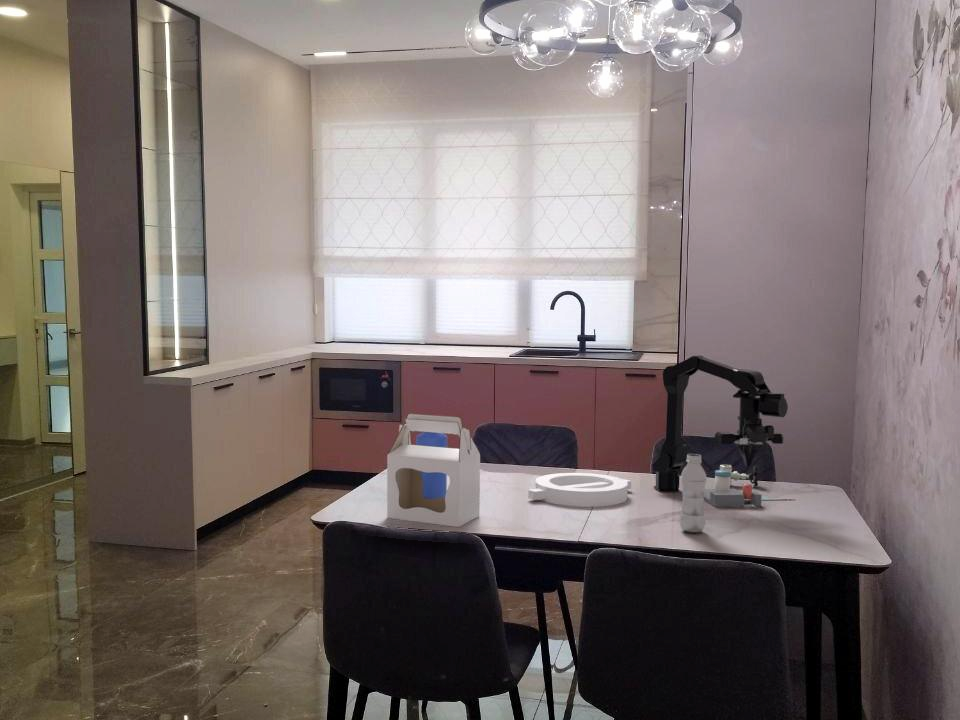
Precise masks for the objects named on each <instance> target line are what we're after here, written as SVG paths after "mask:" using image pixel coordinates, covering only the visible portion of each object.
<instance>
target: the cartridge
mask: <svg viewBox="0 0 960 720" xmlns="http://www.w3.org/2000/svg"><path fill="white" fill-rule="evenodd" d="M731 472H732V471H731ZM731 472H730V471H727V470H720V469H716V470H714V489H715V492H730V489H731V486H730V476H731Z"/></svg>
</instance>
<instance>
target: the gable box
mask: <svg viewBox="0 0 960 720" xmlns="http://www.w3.org/2000/svg"><path fill="white" fill-rule="evenodd" d="M404 420H405V424H399V428H398V434H397V436H396V438H395V439H394V441H393V444H392V446H391V448H390V449H389V451H388V453H387V456H386V457H387V462H386V464H387V465H386V467H387V468H386V470H387V471H386V473H387V474H386V476H387V477H386V478H387V479H386V481H387V483H386V484H387V485H386V489H387V490H386V491H387V493H386V498H387V499H386V509H387V510H386V515H387V516H386V517H387V519H392V520H400V521H409V522H415V523H423V524H432V525H438V526H445V527H446V526H447V527H455V528H459V527H462V526H464V525H465V524H467V523H469V522H471V521H473V520H475V519H477V518H478V517H480V506H481V505H480V503H481V502H480V500H481V499H480V498H481V496H480V494H481V486H480V485H481V454H480V451H479V450H478V447H477V445H476V444H475V442H474V440H473V439H472V437H471V430H470V429H467V428H465V427H464V426H463V421H462V418H461V417H458V416H447V415H433V414H432V415H431V414H422V413H421V414H419V413H409V414H408V415H407V417H406V418H404ZM411 432H421V433H423V432H435V433H443V434H449V435H452V434H453V435H454V436H455V435H458V437H459V446H458V447H459V448H458V447H457V448H456V447H448V446H447V447H437V446H425V445H416V444H412V442H411ZM420 471H422V472H427V473H432V472H440V473H444V474H446V475H447V477H449V485H448V486H447V492H446V495H445V498H444V497H440V498H433V499H428V498H425V497H424V496H423V493H422V491H423V479H422V476H421V473H420Z"/></svg>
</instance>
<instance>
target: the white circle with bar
mask: <svg viewBox="0 0 960 720" xmlns="http://www.w3.org/2000/svg"><path fill="white" fill-rule="evenodd" d="M534 486H535V488H530V489H528V494H527V497H528V499H529V500H533V501H537V500H538V501H539V500H540V501H544V502H546V503H550V504H555V505H561V506H570V507H583V508H585V507H590V508H591V507H607V506H608V507H609V506H614V505H618V504H622V503H625V502H626V501H627V500H628V490H631V489H632V481H631V480H629V479H626V478H625V479H623V478H620V477H616V476H613V475H609V474H608V475H607V474H600V473H599V474H598V473H593V472H592V473H589V472H560V473H550V474H546V475H545V474H544V475H540V476H539V477H537V478H536V479H535V485H534Z"/></svg>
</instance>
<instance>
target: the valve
mask: <svg viewBox="0 0 960 720" xmlns="http://www.w3.org/2000/svg"><path fill="white" fill-rule="evenodd" d="M753 467H754V468H753V471H751V472H750V473H748V474H746V473H741V474H740V473H739V472H738V471H735V470H734V471H733V466H732V465H731V464H720V465H719V470H727V471H730V472H731V476H730V484H731V485H732V480H733V481H734V482H735V481H736V482H737V481H738V480H746V479H748V480H749V482H750V483H751V485H753V487H754V486H757V487H758V486H759V485H758V484H759V483H758V481H759V477H758V474H759V468H758V467H757V466H753ZM732 471H733V472H732Z"/></svg>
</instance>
